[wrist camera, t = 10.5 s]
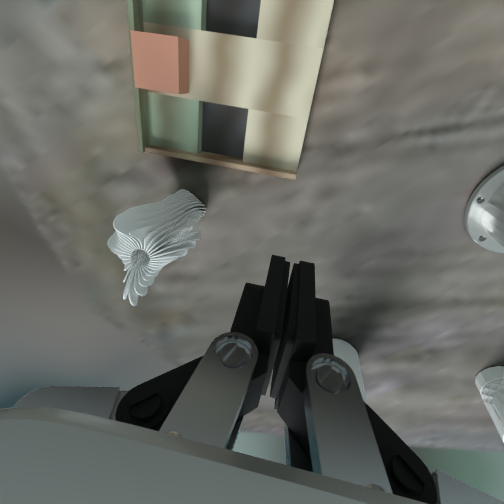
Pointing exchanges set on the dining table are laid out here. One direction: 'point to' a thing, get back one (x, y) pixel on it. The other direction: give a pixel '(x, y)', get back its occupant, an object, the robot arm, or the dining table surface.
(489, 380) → the white cup
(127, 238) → the shell sculpture
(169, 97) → the box
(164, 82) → the block
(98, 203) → the dining table surface
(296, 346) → the robot arm
